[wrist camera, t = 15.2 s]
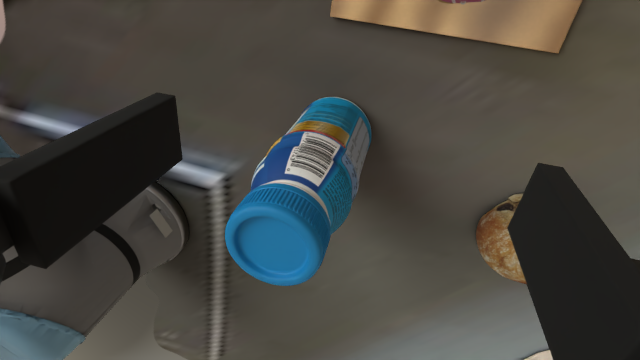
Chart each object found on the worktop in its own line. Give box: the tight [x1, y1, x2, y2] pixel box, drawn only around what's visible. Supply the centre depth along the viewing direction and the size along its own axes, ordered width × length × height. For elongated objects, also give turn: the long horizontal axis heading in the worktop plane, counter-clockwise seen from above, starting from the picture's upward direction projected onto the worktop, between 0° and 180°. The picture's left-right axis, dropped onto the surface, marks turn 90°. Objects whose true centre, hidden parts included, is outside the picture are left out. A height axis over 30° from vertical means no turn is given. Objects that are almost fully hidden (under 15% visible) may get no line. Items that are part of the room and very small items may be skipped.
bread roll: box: [476, 193, 527, 284], centre depth 38 cm, size 10×10×8 cm
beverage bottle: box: [225, 97, 371, 286], centre depth 31 cm, size 8×8×20 cm
